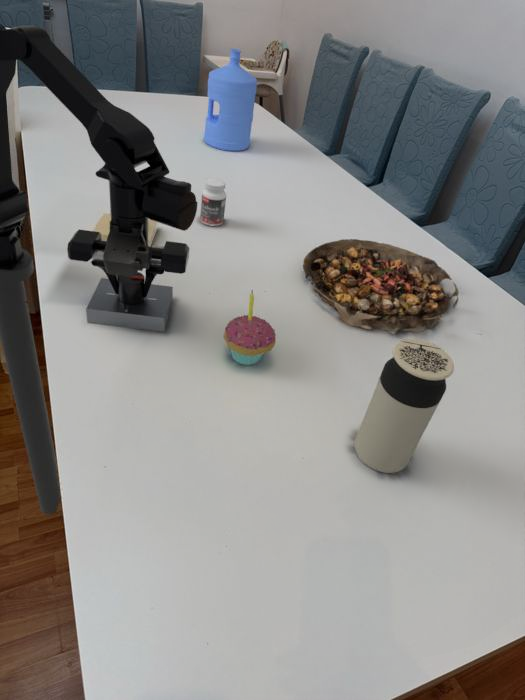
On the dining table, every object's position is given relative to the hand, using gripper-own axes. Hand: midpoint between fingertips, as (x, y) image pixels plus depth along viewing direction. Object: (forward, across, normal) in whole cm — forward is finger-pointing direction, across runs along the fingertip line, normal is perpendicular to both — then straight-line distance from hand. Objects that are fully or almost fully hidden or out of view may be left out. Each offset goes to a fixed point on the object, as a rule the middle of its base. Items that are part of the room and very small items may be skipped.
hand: (131, 294), depth 87 cm
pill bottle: (+4, +11, +41) cm, 43 cm away
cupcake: (+4, +21, -9) cm, 23 cm away
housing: (+4, -7, +28) cm, 29 cm away
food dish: (+4, +49, +19) cm, 53 cm away
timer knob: (0, 0, 0) cm, 0 cm away
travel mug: (+4, +41, -27) cm, 49 cm away
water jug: (+4, +11, +103) cm, 104 cm away
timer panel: (+4, 0, 0) cm, 4 cm away
